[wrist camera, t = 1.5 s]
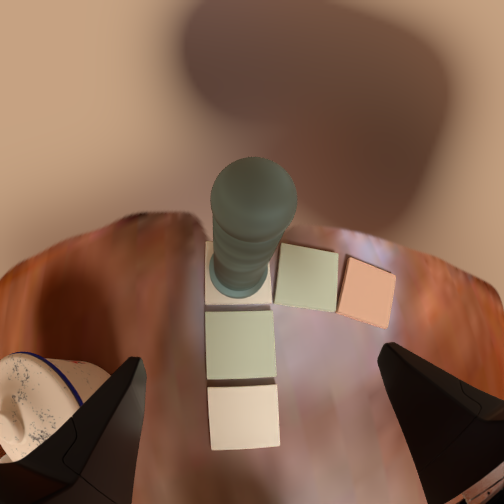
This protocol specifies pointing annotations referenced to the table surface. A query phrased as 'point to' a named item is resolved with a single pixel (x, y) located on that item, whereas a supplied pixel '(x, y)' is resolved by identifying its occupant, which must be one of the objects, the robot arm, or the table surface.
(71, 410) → the teacup with lid
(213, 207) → the pawn
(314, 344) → the table surface
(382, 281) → the track
